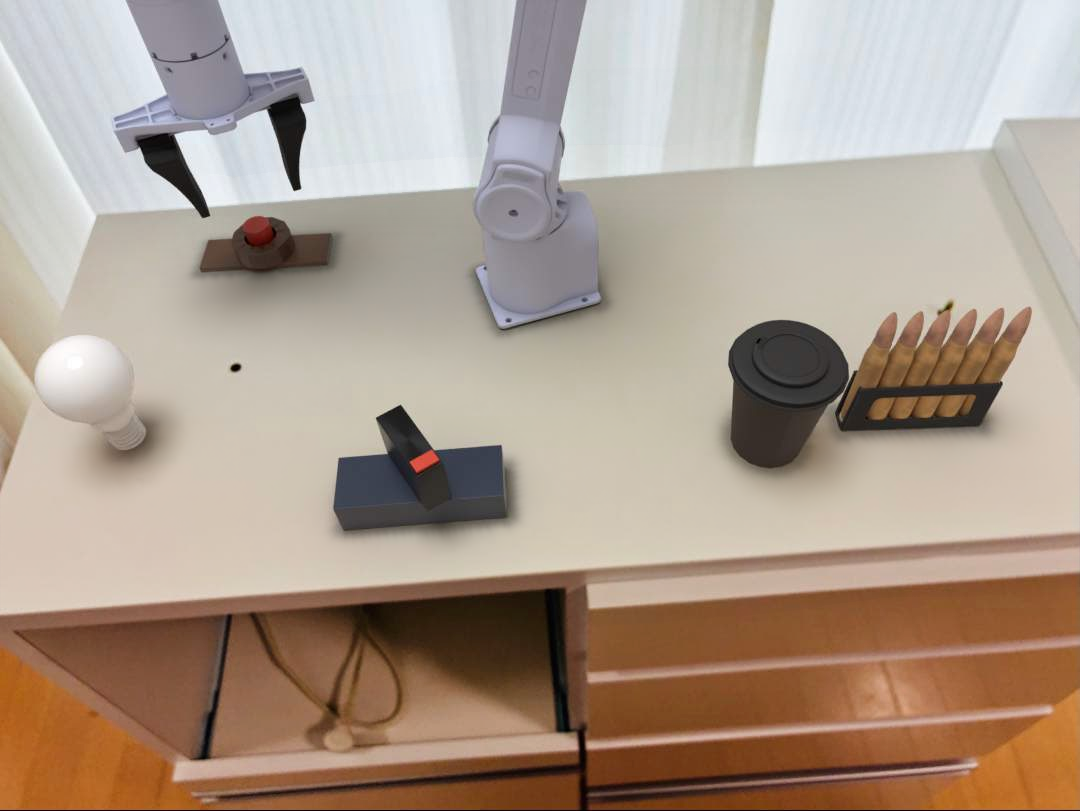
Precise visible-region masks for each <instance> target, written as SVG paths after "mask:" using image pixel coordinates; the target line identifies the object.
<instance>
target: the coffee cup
mask: <svg viewBox="0 0 1080 811" xmlns="http://www.w3.org/2000/svg"><path fill="white" fill-rule="evenodd" d="M728 350H729V351H728V359H727V360H728V361H727V366H728V369H729V373H730V376H731V378H732V380H733V383H732V401H731V402H732V404H731V419H730V420H731V422H730V441H731V444H732V448H733V449H734V451H735V452H736V453H737V456H739V457H740V458H741V459H743V460H744V461H745V462H747V463H749V464H751V465H754V466H756V467H758V468H765V469H777V468H782V467H784V466H787V465H788V464H791V463H792V462H793V461H794V460H795V459H796V458H798V456H799V455H800V453H801V452H802V450H803V448H804V446H805V444H806V443H807V441H808V440H809V438H810V436H811V434H812V433H813V431H814V429H815V428H816V426H817V424H818V423H819V421H820V420H821V417H822V416H823V415H824V413H825V412H826V410H827V408H828V406H829V405H831V404H833V403H834V402H835V401H836V400H837V399H838V398H839V397H841V395H843V394H844V391H845V389H846V387H847V385H848V383H849V381H850V368H849V362H848V360H847V358H846V355H845V354H844V352H843V350H842V348H841V347H840V345H839V344H838V343H837V341H835V339H834V338H832V337H831V336H830V335H829V334H827V333H826V332H825V331H823V330H822V329H819V328H818V327H816V326H813V325H811V324H808V323H806V322H803V321H802V322H801V321H797V320H791V319H774V320H767V321H763V322H760V323H756V324H755V325H753V326H751V327H750V328H747V329H746V330H745V331H743V332H742V333H740V334H739V335H738V337H736V338H735V339H734V341H733V343H732V345H731V346H730V348H729V349H728Z"/></svg>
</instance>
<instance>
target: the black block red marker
mask: <svg viewBox="0 0 1080 811" xmlns="http://www.w3.org/2000/svg"><path fill="white" fill-rule="evenodd" d="M375 421H376V423H377V427H378V429H379V432H380V435H381V438H382V442H383V444H384V448H385V450H386V454H388V455H389V457H390V458H391V460H392V461H393V463H394V464H395V466H396V467H397V469H398V470H399V472H400V473H401V475H402V476H403V477H404V479H405V480H406V482H407V483H408V485H409V486H410V488H411V489H412V491H413V492H414V494H415V495H416V497H417V498H418V500H419V501H420V502H421V504H422V505H423V507H424V508H425V510H426V511H427V512H428V511H430V510H432V509H434V508H435V507H437V506H439V505H441V504H442V503H444V502H446V501H448V500H449V499H451V498H452V497H451V493H450V489H449V485H448V481H447V477H446V473H445V469H444V465H443V462H442V460H441V459H440V458H439V456H438V455H437V453H436V452H435V451H434V450H435V449H434V448H433V447H432V446H431V443H430V442H429V441H428V439H427V438H426V437H425V435H424V434H423V432H422V431H421V430H420V429H419V427H418V426H417V424H416V423H415V422H414V421H413V419H412V417H411V416H410V414H409V413H408V412H407V411H406V409H405V407H404V406H403V405H402V404H399V405H397V406H395V407H393V408H391V409H390V410H388V411H385V412H384V413H382V414H379V415H378V416H376V417H375Z"/></svg>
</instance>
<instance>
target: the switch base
mask: <svg viewBox="0 0 1080 811" xmlns="http://www.w3.org/2000/svg"><path fill="white" fill-rule="evenodd" d="M434 451H435V452H436V453H437V455H438V456H439V458H440V459H441V460H442V462H443V465H444V469H445V473H446V477H447V481H448V485H449V489H450V493H451V497H452V498H451V499H449V500H448V501H446V502H444V503H442V504H441V505H439V506H437V507H435V508H434V509H432V510H430V511H428V512H427V511H426V510H425V508H424V507H423V505H422V504H421V502H420V501H419V500H418V498H417V497H416V495H415V494H414V492H413V491H412V489H411V488H410V486H409V485H408V483H407V482H406V480H405V479H404V477H403V476H402V475H401V473H400V472H399V470H398V469H397V467H396V466H395V464H394V463H393V461H392V460H391V458H390V457H389V455H388V453H381V454H380V453H379V454H368V455H367V454H366V455H355V456H343V457H338V458H337V459H338V460H337V470H336V479H335V486H334V487H335V488H334V496H333V497H334V498H333V506H332V507H333V508H332V509H333V512H334V514H335V516H336V518H337V521H338V523H339V524H340V526H341V530H343V531H351V530H352V531H353V530H361V529H363V530H364V529H374V528H388V527H400V526H401V527H402V526H413V525H427V524H439V523H451V522H452V523H453V522H465V521H478V520H489V519H500V518H501V519H502V518H503V519H504V518H508V505H507V503H508V502H507V484H506V483H507V482H506V466H505V459H504V452H503V446H502V444H495V445H484V446H470V447H469V446H468V447H456V448H445V449H443V448H442V449H434Z"/></svg>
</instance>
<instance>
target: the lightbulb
mask: <svg viewBox="0 0 1080 811" xmlns="http://www.w3.org/2000/svg"><path fill="white" fill-rule="evenodd" d="M33 375H34V377H33V381H34V387H35V391H36V393H37V394H36V395H37V396H38V398H39V399H40V401H41V403H42V404H43V405H44V406H45V407H46V408H47V409H48V410H49V411H50V412H52V413H53V414H54V415H56V416H58V417H60V418H61V419H64V420H67V421H70V422H72V423H73V422H74V423H79V424H86V425H89V426H90V427H92V429H93V428H94V429H95V430H97V431H99V432H101V433H102V434H103V435H104V436H105V438H106V439H107V440H108V442H109V443H110V444H111V445H112V446H113V448H114V449H117V450H119V451H129V450H132V449H134V448H136V447H138V446H139V445H140V444H142V442H143V441H144V440H145V439H146V436H147V429H146V427H145V425H144V424H143V422H142V421H141V419H139V417H138V416H137V414H136V413H135V407H134V406H135V405H134V402H133V401H132V400H133V399H132V396H133V393H134V388H135V382H136V381H135V379H136V378H135V370H134V367H133V365H132V362H131V360H130V359H129V357H128V356H127V354H126V353H125V351H124V350H122V349H121V347H119V345H117V344H115V343H114V342H112V341H110V340H108V339H106V338H104V337H101V336H97V335H92V334H76V335H70V336H66V337H63V338H61V339H59V340H57V341H55V342H54V343H53V344H51V345H50V346H48V347H47V349H45V350H44V352H42V354H41V355H40V357H39V359H38V361H37V362H36V365H35V369H34V374H33Z"/></svg>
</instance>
